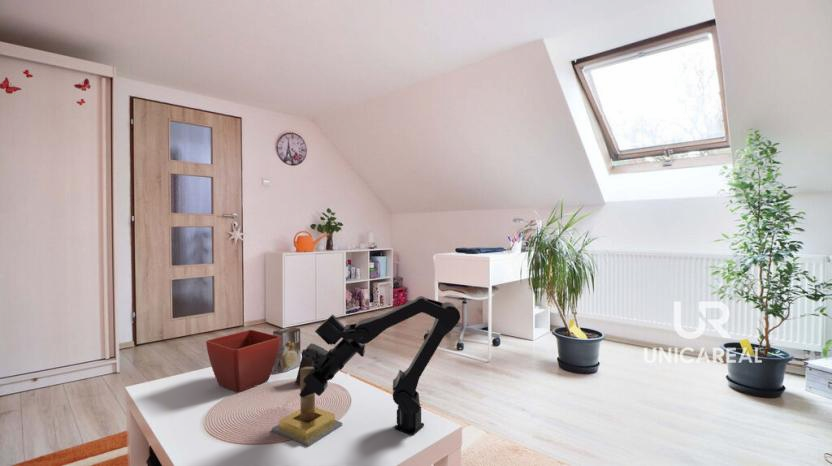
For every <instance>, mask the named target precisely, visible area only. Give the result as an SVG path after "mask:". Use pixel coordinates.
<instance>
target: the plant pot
mask: <svg viewBox="0 0 832 466" xmlns="http://www.w3.org/2000/svg"><path fill="white" fill-rule="evenodd" d="M279 343H280V337H279V336H275V335H273V334H270V333H266V332H262V331H258V330H254V329H247V330H244V331H240V332H236V333H235V332H234V333H232V334H227V335H223V336H218V337H216V338H210V339H207V340H205V344H206V350H207V354H208V359H209V362H210V365H211V366H210V367H211V368H212V372H213V374H214V377H215V380H216V381H217V384H218V385H219V386H220V387H224V388H226V389H228V390H231V391H233V392H235V393H240V392H244V391H246V390H249V389H251V388H254V387H257V386H259V385H261V384H264V383H267V382H268V381H269V379H270V377H271V374H272V371H273V370H274V363H275V360H276V356H277V353H278V348H279Z"/></svg>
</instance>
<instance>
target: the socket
mask: <svg viewBox="0 0 832 466" xmlns="http://www.w3.org/2000/svg"><path fill="white" fill-rule="evenodd" d="M342 426H343V422H341V421H338V420H336V414H335V413H334V412H330V411H327V410H325V409H322V408H319V407H316V406H315V417H314V418H313V419H311V420H302V419H301V408H299V409H298V410H296V411H294V412H292V413H290V414H288V415H286V416H284V417H282V418H280V419H279V423H278V424H277V425H275V426H273V427H271V432H274V433H275V434H279V436H280V435H281V436H283V437H285V438H287V439H290V440H292V441H295V442H296V443H299V444H302V445H303V446H305V447H311V446H312V445H314V444H315V443H317V442H318V441H320V440H322V439H323V438H325V437H326V436H328V435H329V434H331V433H333V432H334V431H336V430H337V429H339V428H340V427H342Z"/></svg>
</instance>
